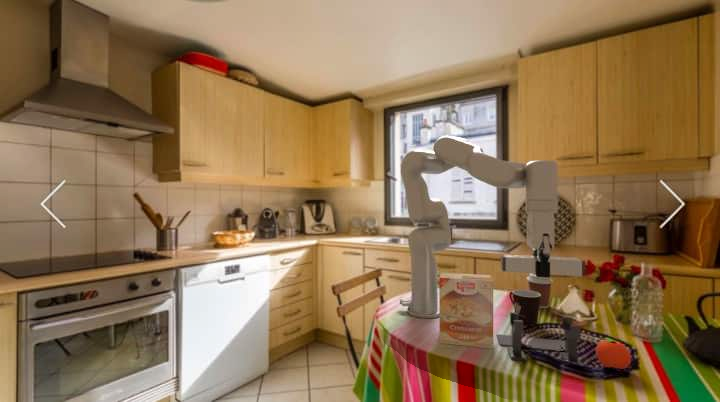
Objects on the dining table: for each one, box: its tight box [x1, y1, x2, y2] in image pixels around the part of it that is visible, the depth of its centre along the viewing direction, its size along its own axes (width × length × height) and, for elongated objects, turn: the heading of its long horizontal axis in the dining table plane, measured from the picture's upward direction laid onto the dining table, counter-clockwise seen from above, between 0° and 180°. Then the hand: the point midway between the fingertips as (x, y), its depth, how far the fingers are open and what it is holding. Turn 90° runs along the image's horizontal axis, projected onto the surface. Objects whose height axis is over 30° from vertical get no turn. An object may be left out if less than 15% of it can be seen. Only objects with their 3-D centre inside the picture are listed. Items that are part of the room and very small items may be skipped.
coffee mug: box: [509, 289, 541, 327], centre depth 112 cm, size 12×9×10 cm
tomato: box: [595, 337, 632, 370], centre depth 82 cm, size 8×7×7 cm
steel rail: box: [500, 254, 586, 277], centre depth 88 cm, size 19×4×4 cm, turn 74°
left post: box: [506, 312, 527, 362], centre depth 88 cm, size 4×7×10 cm, turn 164°
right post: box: [559, 315, 584, 365], centre depth 85 cm, size 4×7×10 cm, turn 164°
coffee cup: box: [526, 273, 554, 309], centre depth 128 cm, size 9×9×12 cm
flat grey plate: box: [496, 333, 580, 354], centre depth 95 cm, size 20×7×1 cm, turn 74°
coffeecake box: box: [438, 272, 494, 349], centre depth 97 cm, size 15×7×20 cm, turn 75°
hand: (540, 274), depth 88 cm, fingers closed on steel rail, 4 cm apart
